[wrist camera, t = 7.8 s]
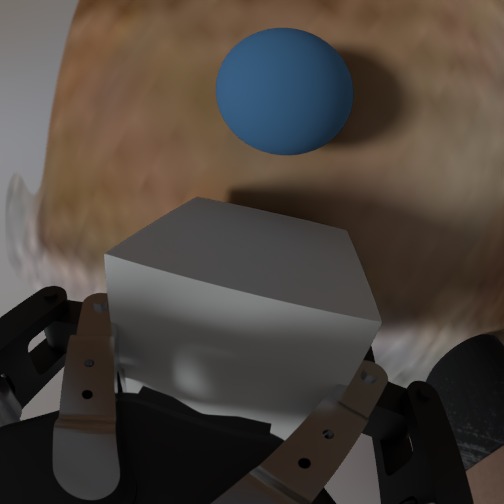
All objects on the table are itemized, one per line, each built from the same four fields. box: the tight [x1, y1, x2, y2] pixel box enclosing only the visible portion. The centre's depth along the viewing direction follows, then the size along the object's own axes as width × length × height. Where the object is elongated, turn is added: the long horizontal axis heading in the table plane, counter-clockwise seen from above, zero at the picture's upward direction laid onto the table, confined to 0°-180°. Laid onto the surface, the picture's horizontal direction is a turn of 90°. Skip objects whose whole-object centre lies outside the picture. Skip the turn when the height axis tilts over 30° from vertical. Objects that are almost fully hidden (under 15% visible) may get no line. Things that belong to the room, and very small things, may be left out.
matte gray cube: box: [104, 197, 382, 440], centre depth 11 cm, size 7×7×7 cm
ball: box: [216, 28, 353, 155], centre depth 9 cm, size 5×5×5 cm
